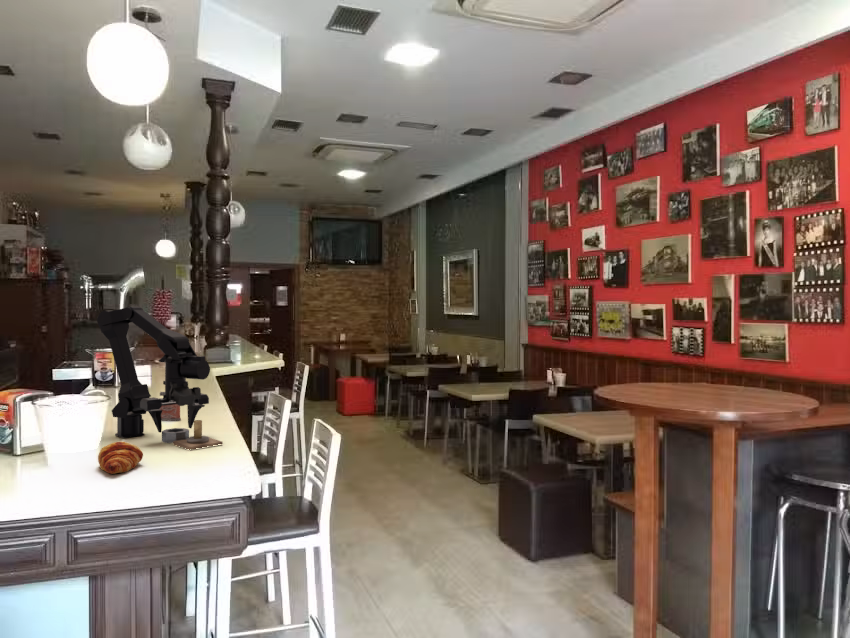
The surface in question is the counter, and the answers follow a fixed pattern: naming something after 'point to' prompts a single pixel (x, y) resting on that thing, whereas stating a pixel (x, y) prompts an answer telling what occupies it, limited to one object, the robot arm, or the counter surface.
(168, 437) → the ring
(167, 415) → the lighter
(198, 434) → the peg stand
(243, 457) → the counter surface
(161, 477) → the counter surface
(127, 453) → the croissant
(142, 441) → the counter surface
